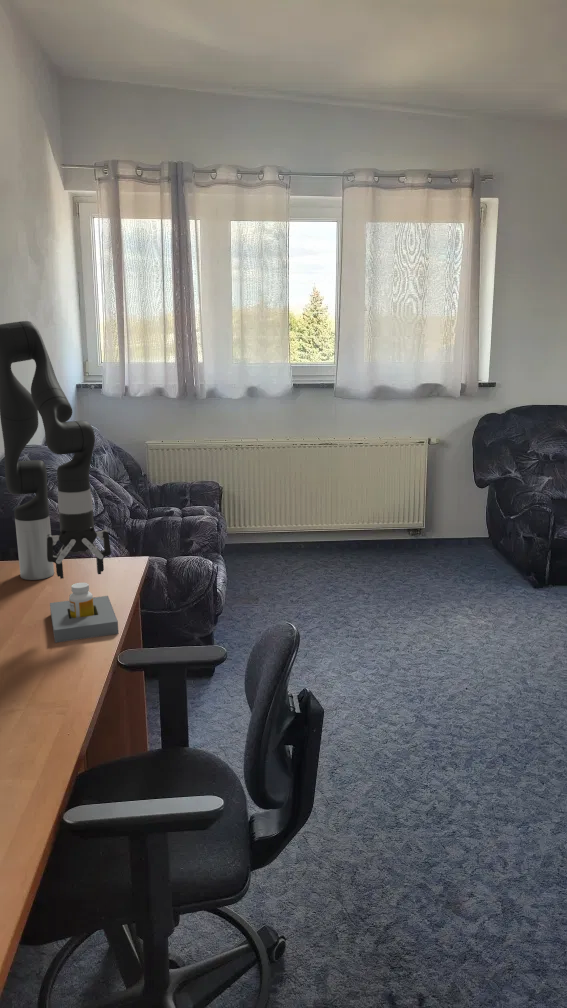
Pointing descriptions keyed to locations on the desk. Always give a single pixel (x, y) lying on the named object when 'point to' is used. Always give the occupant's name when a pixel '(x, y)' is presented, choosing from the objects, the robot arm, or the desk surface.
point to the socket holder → (83, 621)
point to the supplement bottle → (81, 601)
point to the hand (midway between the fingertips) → (80, 575)
